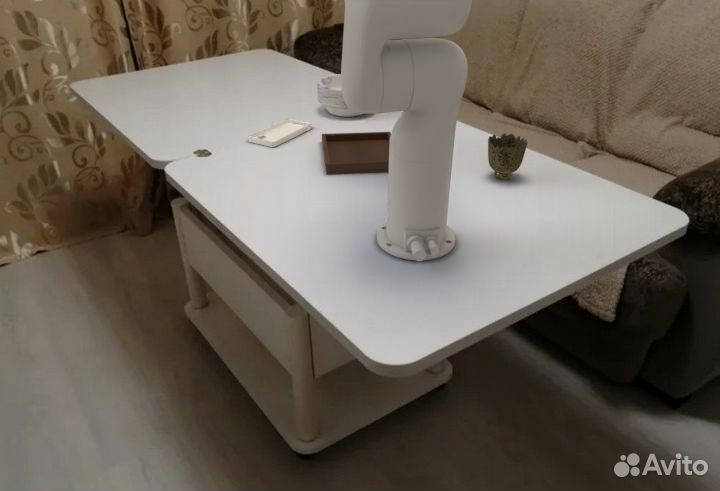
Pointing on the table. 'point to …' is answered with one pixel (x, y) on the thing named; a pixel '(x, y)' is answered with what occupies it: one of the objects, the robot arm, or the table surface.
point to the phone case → (279, 132)
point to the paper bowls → (333, 96)
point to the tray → (356, 152)
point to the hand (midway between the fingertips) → (358, 79)
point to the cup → (505, 155)
